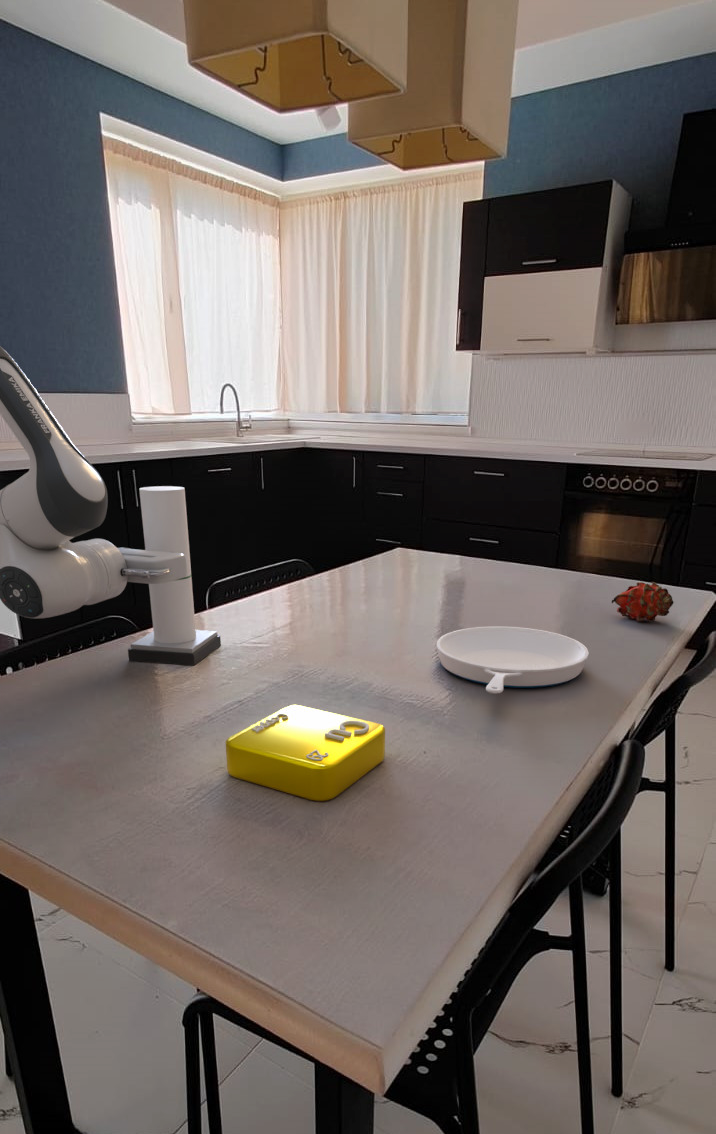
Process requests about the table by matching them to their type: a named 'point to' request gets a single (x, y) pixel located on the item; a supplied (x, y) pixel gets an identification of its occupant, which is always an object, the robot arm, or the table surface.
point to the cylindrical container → (169, 535)
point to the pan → (511, 656)
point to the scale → (175, 649)
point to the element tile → (306, 752)
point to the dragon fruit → (644, 601)
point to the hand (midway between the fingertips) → (151, 555)
